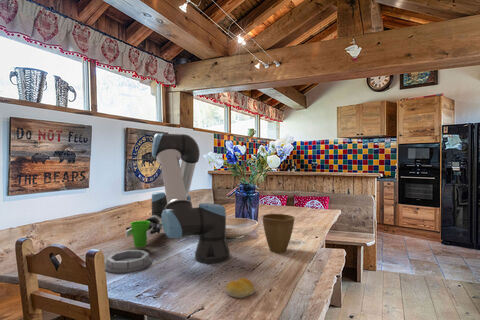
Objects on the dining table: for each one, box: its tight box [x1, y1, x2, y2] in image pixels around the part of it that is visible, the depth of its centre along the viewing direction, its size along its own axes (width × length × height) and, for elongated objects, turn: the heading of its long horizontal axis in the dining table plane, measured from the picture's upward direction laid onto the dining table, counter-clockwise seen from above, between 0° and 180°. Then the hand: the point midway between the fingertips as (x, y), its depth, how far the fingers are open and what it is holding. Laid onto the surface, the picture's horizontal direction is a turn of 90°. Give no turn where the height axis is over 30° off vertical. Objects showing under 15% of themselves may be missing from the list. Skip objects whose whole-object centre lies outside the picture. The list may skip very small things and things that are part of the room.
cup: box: [129, 220, 150, 248], centre depth 136 cm, size 9×9×11 cm
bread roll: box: [225, 277, 256, 299], centre depth 92 cm, size 8×9×4 cm
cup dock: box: [105, 249, 152, 274], centre depth 117 cm, size 18×18×4 cm
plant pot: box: [262, 213, 296, 254], centre depth 134 cm, size 15×15×16 cm
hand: (136, 234), depth 131 cm, fingers closed on cup, 9 cm apart
